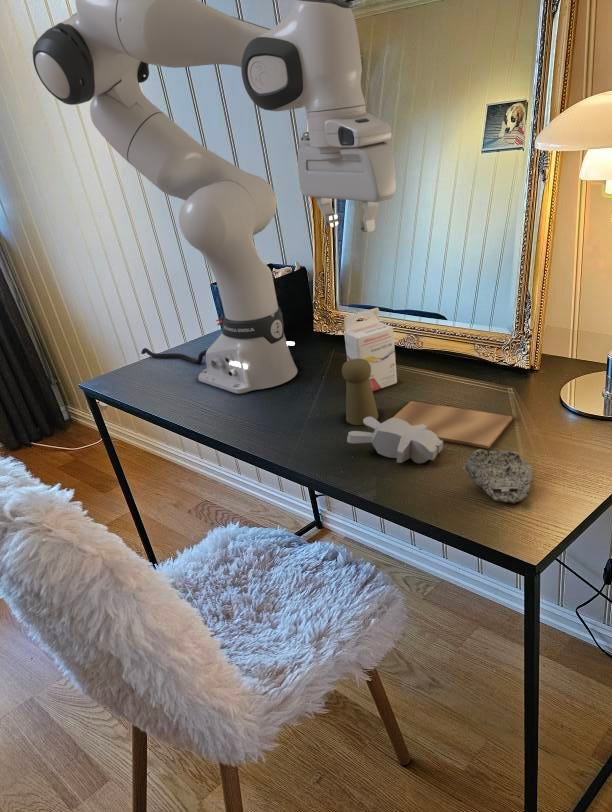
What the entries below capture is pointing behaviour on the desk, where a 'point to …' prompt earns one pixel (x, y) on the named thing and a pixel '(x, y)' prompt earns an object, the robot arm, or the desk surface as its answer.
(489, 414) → the cork mat
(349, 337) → the ink cartridge box
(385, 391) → the desk surface
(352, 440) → the bunny figurine
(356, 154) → the robot arm
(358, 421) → the pepper shaker
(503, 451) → the rock sample
